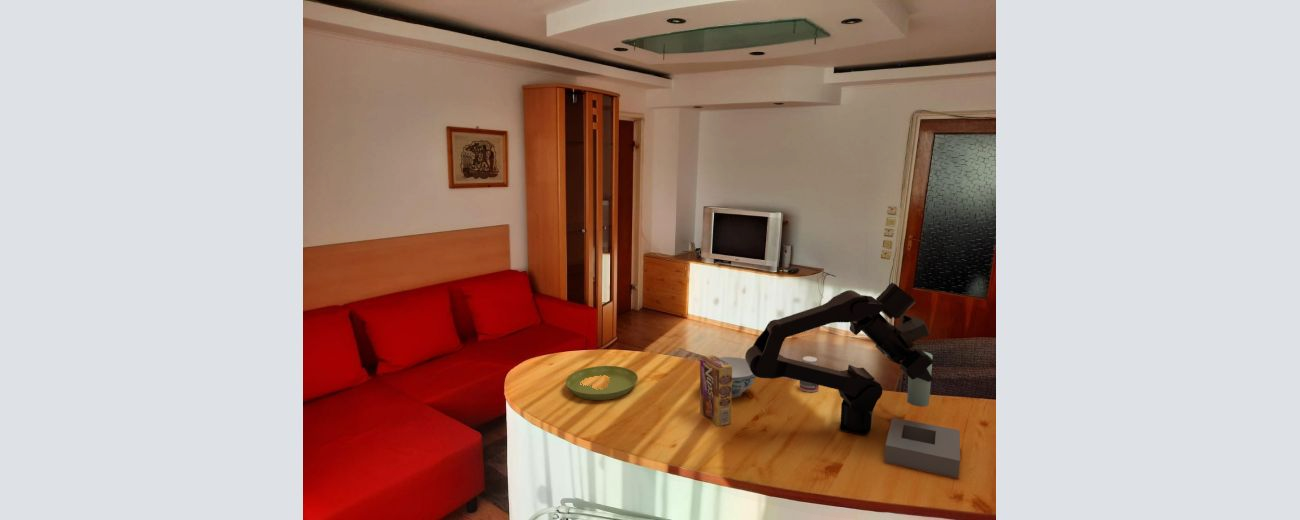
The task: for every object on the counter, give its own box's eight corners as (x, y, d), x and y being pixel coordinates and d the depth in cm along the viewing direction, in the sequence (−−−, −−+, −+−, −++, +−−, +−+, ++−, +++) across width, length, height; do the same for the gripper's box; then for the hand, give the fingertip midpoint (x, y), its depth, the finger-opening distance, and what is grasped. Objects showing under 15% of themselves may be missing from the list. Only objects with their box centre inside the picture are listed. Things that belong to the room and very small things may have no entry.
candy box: (732, 423, 139) (733, 365, 136) (718, 427, 137) (718, 368, 135) (713, 409, 147) (713, 354, 144) (699, 412, 145) (699, 357, 142)
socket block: (884, 462, 121) (885, 445, 120) (891, 433, 133) (892, 417, 132) (958, 478, 115) (960, 460, 114) (958, 446, 127) (959, 430, 126)
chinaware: (746, 409, 147) (746, 381, 146) (694, 397, 154) (694, 371, 153) (764, 387, 160) (765, 362, 158) (716, 378, 167) (716, 353, 166)
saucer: (651, 383, 165) (651, 373, 164) (609, 411, 148) (609, 400, 147) (596, 370, 176) (595, 360, 175) (550, 394, 159) (550, 383, 158)
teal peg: (906, 404, 134) (909, 356, 131) (907, 396, 138) (910, 349, 136) (928, 408, 132) (932, 359, 129) (929, 399, 136) (933, 352, 133)
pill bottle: (819, 393, 155) (820, 362, 154) (799, 391, 157) (800, 361, 155) (817, 385, 161) (818, 355, 159) (798, 384, 162) (799, 354, 160)
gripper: (926, 320, 121) (973, 367, 123) (890, 298, 139) (932, 339, 141) (888, 356, 123) (935, 402, 125) (857, 329, 141) (899, 369, 143)
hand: (925, 375), depth 133 cm, fingers closed on teal peg, 5 cm apart
